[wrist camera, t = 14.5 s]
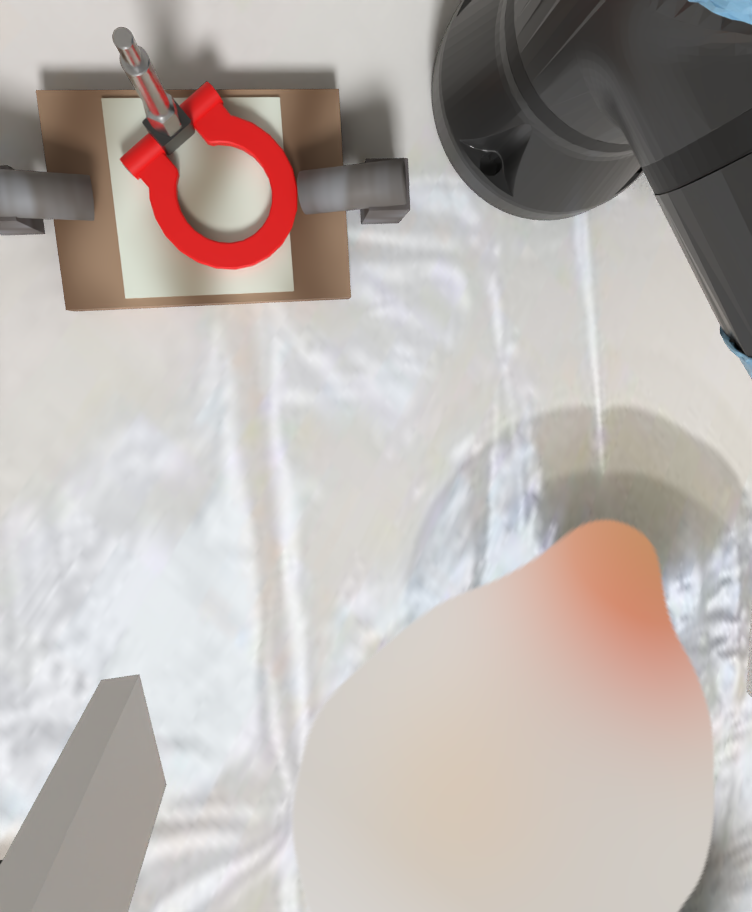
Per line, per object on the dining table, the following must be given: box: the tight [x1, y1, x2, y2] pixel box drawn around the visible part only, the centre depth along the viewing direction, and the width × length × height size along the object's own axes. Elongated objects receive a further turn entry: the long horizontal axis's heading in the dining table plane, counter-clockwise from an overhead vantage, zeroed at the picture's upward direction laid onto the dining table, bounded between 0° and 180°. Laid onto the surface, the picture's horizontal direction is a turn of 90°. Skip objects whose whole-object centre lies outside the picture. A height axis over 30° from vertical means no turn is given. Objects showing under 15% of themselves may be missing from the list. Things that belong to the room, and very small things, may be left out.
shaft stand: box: [0, 89, 410, 311], centre depth 36 cm, size 24×12×6 cm, turn 93°
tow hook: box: [112, 27, 297, 270], centre depth 31 cm, size 8×13×9 cm
